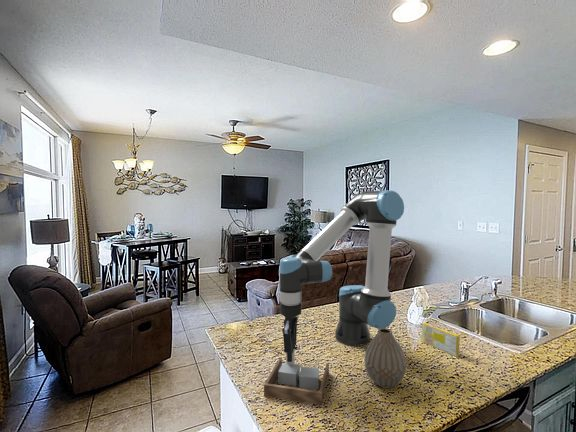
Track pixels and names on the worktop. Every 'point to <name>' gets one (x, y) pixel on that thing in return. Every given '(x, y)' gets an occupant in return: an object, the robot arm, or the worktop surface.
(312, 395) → the frame
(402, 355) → the vase
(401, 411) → the worktop surface
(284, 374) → the tile
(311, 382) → the light grey square block
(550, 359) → the worktop surface
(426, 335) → the candy box
